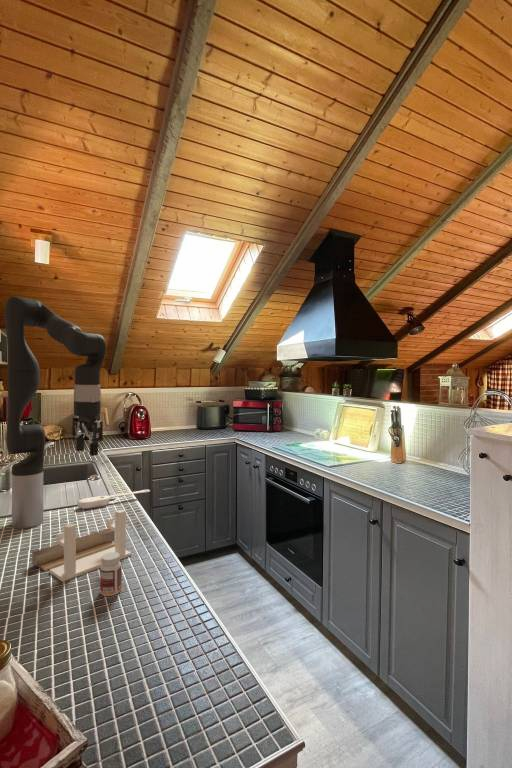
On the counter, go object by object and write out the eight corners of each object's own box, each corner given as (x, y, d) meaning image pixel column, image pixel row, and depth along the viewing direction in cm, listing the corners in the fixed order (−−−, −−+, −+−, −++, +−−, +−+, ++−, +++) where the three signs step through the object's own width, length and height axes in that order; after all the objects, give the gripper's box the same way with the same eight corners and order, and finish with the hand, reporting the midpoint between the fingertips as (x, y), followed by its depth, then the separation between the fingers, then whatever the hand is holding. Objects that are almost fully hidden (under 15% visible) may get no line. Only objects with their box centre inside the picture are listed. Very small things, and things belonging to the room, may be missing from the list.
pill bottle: (114, 583, 97) (114, 549, 97) (125, 590, 94) (125, 555, 94) (95, 591, 93) (96, 556, 93) (106, 599, 90) (107, 562, 90)
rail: (32, 563, 105) (32, 552, 105) (109, 537, 122) (109, 528, 122) (36, 567, 103) (36, 555, 103) (114, 540, 120) (114, 530, 120)
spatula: (146, 494, 168) (146, 488, 168) (152, 498, 164) (152, 491, 164) (75, 506, 151) (75, 499, 151) (79, 511, 147) (79, 503, 147)
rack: (49, 572, 102) (49, 522, 102) (117, 548, 117) (117, 504, 116) (62, 581, 97) (62, 529, 97) (131, 555, 112) (131, 510, 112)
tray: (33, 562, 107) (33, 560, 107) (103, 539, 123) (103, 537, 123) (44, 570, 103) (44, 568, 103) (115, 545, 118) (115, 543, 118)
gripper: (64, 398, 122) (63, 451, 123) (86, 402, 113) (86, 459, 113) (87, 397, 128) (87, 447, 128) (111, 400, 118) (110, 455, 119)
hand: (86, 453), depth 121 cm, fingers open, 8 cm apart
